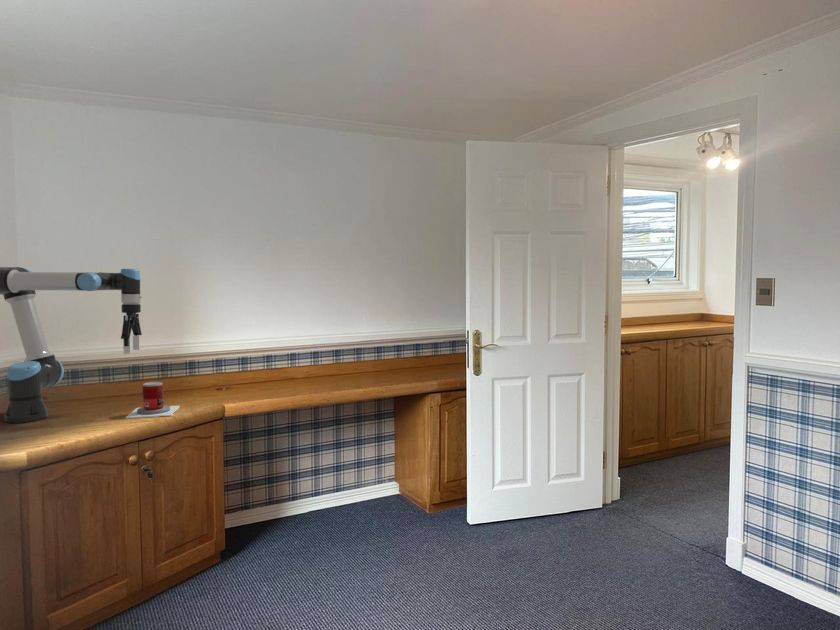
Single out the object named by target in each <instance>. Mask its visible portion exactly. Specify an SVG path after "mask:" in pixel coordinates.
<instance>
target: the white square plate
mask: <svg viewBox="0 0 840 630" xmlns="http://www.w3.org/2000/svg"><path fill="white" fill-rule="evenodd" d="M179 408H180V405H166V404H163V408H162V409H158V410H145V409H144V406H142V407H136V408H135V409H134V410H132V411H131V412H130V413H129V414H127V416H125V420H126V419H142V418H143V419H144V418H145V419H147V418H160V417H159V416H165V417H172V416H173V415H174V414H175V413H176V412H175V411H176V410H177V411H178V410H179ZM174 412H175V413H174ZM173 413H174V414H173Z"/></svg>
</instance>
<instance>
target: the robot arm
mask: <svg viewBox="0 0 840 630" xmlns="http://www.w3.org/2000/svg"><path fill="white" fill-rule="evenodd" d="M36 291H81V292H82V291H83V292H93V291H94V292H96V291H120V293H121V294H120V295H121V313H123V314H125V315H123V321H122V323H123V324H122V329H121V335H120V339H121V340H122V341H123V344H122V346H123V348H122V349H123V354H124V355H130V354H131V353H132V351H139V350H140V347H141V345H140V344H141V341H140V336H142V335H143V334H142V330H141V323H140V318H139V316H140V315H139V313H141V311H142V310H141V308H142V307H141V299H142V296H141V274H140V270H139V269H138V268H121V269H120V272H100V271H99V272H93V271H92V272H89V271H88V272H87V271H86V272H76V271H75V272H73V271H72V272H69V271H67V272H65V271H64V272H62V271H61V272H59V271H58V272H57V271H56V272H55V271H53V272H52V271H51V272H50V271H42V272H41V271H35V272H34V271H32V270H30V269H28V268H25V267H20V266H13V267H12V266H11V267H10V266H0V295H2V296H3V299H4V301H5V302H7V303H8V304H9V305H10V306H11V307H10V308H11V310H12V315H13V317H14V320H15V324H16V327H17V330H18V333H19V338H20V341H21V344H22V347H23V350H24V353H25V358H24V361H21V362H16V363H13V364H11V365H9V366H8V367H7V371H6V379H7V394H8V395H7V396H8V404H7V406H6V410H5V413H4V422H5V423H10V424H18V423H30V422H35V421H40V420H43V419H46V418H48V416H49V411H48V409H47V407H46V404H45V402H44V400H43V393H42V392H43V391H42V390H43V389H46V388H51V387H53V386H55V385H57V384H59V383H60V382H61V380H63V378H64V375H65V369H64V365H63V364H62V363H61V361H59V360H58V359H56V357H55V354H54V353H53V352H50V351H49V346H48V344H47V340H46V337H45V334H44V331H43V328H42V324H41V321H40V318H39V314H38V311H37V307H36V304H35V301H34V299H35V297H36V296H37V293H36ZM131 333H133V335H132V339H131V338H130V336H131ZM131 340H132V341H131ZM131 342H132V344H131ZM131 345H132V346H131ZM131 347H132V348H131Z"/></svg>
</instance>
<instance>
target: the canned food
mask: <svg viewBox="0 0 840 630" xmlns="http://www.w3.org/2000/svg"><path fill="white" fill-rule="evenodd" d="M142 404H143V405H142V407H144V409H145V410H158V409H162V408H163V405H164V384H163V382H161V381H149V382H145V383H143V384H142Z"/></svg>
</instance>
